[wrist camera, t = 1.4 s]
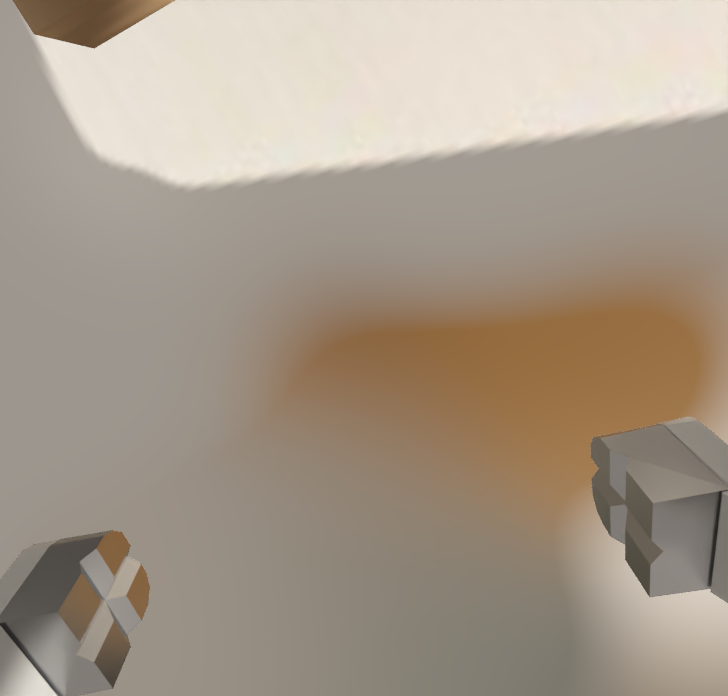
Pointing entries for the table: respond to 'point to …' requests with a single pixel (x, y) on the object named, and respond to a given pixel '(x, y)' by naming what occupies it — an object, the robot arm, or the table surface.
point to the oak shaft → (85, 18)
